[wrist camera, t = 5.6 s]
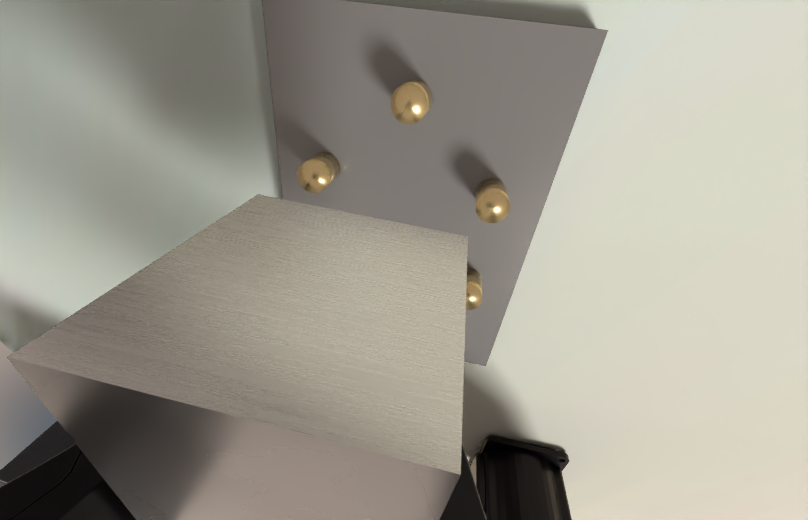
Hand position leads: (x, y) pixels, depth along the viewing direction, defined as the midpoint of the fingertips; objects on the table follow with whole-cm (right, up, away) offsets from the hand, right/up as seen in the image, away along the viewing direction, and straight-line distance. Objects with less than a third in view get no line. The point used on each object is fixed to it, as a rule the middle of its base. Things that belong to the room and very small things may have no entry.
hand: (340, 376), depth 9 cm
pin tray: (+2, +6, +9) cm, 11 cm away
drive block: (0, +1, +1) cm, 1 cm away
